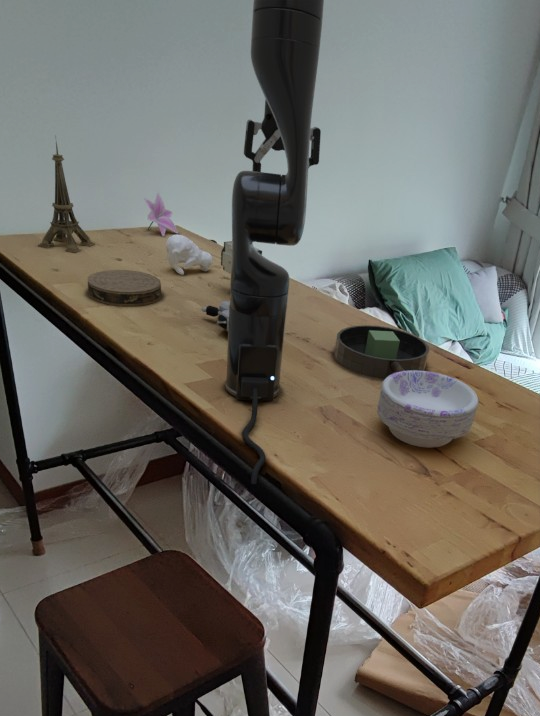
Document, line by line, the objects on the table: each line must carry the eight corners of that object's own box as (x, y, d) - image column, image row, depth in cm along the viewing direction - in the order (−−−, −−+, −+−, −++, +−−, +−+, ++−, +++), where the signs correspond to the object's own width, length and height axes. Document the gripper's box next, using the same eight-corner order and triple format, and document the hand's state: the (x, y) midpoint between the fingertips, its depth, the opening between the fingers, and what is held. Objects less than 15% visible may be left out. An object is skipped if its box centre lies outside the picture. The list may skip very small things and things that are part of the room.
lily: (141, 240, 187) (155, 211, 181) (126, 214, 191) (140, 185, 185) (175, 251, 195) (189, 223, 190) (160, 225, 199) (174, 198, 194)
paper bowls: (404, 463, 97) (415, 415, 92) (357, 417, 108) (365, 372, 103) (485, 451, 103) (499, 406, 98) (433, 409, 113) (444, 366, 109)
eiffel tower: (94, 244, 175) (86, 136, 160) (75, 252, 167) (64, 140, 151) (58, 238, 176) (47, 130, 161) (38, 246, 168) (23, 134, 153)
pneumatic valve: (235, 286, 158) (238, 234, 151) (262, 301, 151) (266, 247, 143) (216, 288, 155) (217, 235, 148) (242, 304, 148) (245, 248, 141)
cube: (394, 365, 127) (399, 340, 124) (370, 364, 126) (375, 339, 123) (388, 355, 131) (392, 331, 128) (364, 354, 130) (368, 330, 127)
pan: (436, 382, 123) (441, 362, 121) (344, 378, 120) (348, 358, 118) (409, 346, 137) (413, 327, 135) (326, 342, 134) (328, 323, 132)
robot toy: (197, 321, 138) (226, 342, 127) (197, 299, 136) (226, 319, 125) (249, 317, 143) (280, 337, 133) (250, 296, 141) (282, 314, 130)
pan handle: (412, 390, 114) (414, 380, 113) (401, 390, 113) (403, 379, 112) (398, 370, 121) (400, 359, 120) (387, 369, 120) (390, 359, 119)
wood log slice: (110, 310, 136) (109, 295, 134) (75, 287, 145) (74, 274, 143) (174, 300, 145) (174, 286, 143) (138, 280, 154) (137, 267, 152)
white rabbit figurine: (164, 231, 159) (209, 235, 164) (161, 267, 163) (206, 270, 169) (172, 237, 154) (219, 242, 160) (169, 274, 159) (215, 277, 165)
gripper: (250, 82, 112) (245, 186, 121) (329, 91, 115) (318, 193, 124) (245, 80, 118) (240, 180, 127) (321, 89, 121) (310, 186, 130)
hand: (279, 186), depth 126 cm, fingers open, 8 cm apart
